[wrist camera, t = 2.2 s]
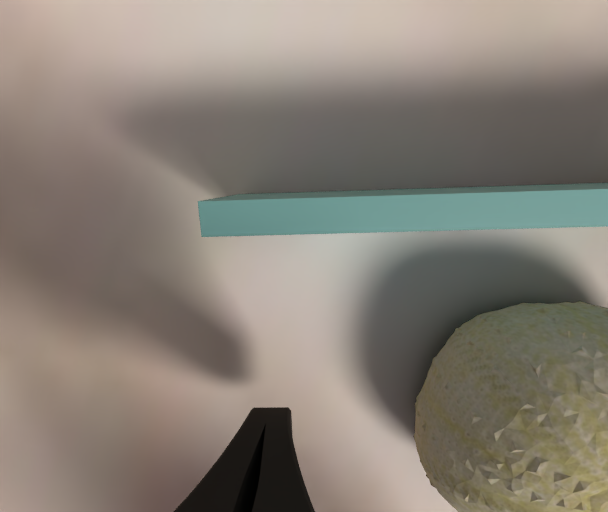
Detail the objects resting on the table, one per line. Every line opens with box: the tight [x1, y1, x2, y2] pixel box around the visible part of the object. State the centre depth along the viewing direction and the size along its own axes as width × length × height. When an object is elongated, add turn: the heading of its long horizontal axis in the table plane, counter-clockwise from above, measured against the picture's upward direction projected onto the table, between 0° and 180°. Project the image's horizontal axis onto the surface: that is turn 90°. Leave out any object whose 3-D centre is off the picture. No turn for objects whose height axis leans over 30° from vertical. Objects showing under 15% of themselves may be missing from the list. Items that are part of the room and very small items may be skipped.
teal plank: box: [198, 183, 608, 237], centre depth 9 cm, size 17×1×4 cm, turn 92°
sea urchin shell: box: [414, 301, 608, 512], centre depth 11 cm, size 9×8×8 cm
